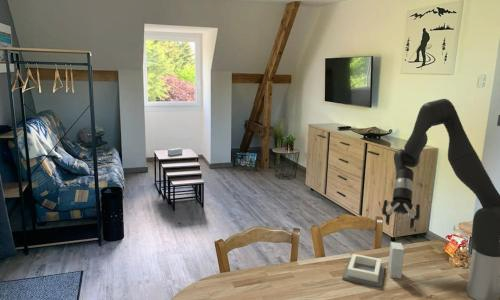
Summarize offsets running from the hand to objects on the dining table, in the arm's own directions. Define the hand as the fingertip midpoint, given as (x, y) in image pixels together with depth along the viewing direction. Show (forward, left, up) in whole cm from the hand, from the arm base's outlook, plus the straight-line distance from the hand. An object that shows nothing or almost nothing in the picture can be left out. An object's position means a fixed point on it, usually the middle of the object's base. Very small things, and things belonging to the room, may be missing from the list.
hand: (399, 226), depth 155 cm
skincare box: (0, +10, -16) cm, 19 cm away
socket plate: (+11, +14, -16) cm, 24 cm away
